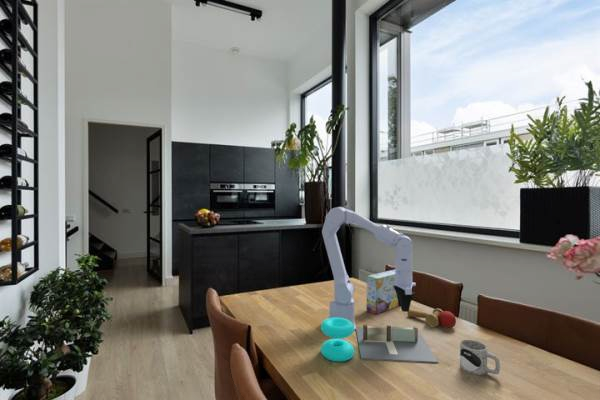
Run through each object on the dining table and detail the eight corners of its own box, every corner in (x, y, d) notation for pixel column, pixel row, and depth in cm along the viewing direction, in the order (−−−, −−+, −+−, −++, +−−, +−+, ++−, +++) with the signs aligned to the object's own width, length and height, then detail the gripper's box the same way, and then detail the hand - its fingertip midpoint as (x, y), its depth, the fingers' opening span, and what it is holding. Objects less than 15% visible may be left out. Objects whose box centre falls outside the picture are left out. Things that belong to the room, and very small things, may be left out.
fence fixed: (363, 341, 105) (363, 326, 105) (362, 339, 107) (363, 324, 106) (391, 343, 104) (391, 327, 104) (390, 341, 106) (390, 325, 106)
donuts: (357, 328, 92) (323, 329, 91) (357, 363, 92) (323, 364, 91) (350, 315, 102) (319, 316, 101) (350, 346, 102) (319, 347, 101)
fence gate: (392, 340, 104) (392, 327, 104) (391, 338, 106) (391, 325, 105) (418, 341, 103) (418, 328, 103) (417, 340, 105) (417, 326, 105)
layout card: (361, 359, 94) (361, 357, 94) (355, 328, 116) (355, 326, 116) (438, 363, 92) (438, 361, 92) (418, 330, 114) (418, 329, 114)
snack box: (376, 315, 128) (377, 278, 128) (365, 311, 133) (366, 275, 133) (406, 304, 142) (406, 270, 142) (395, 300, 146) (396, 268, 146)
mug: (455, 367, 90) (455, 343, 90) (466, 359, 94) (467, 337, 94) (494, 384, 82) (494, 358, 82) (504, 375, 86) (505, 350, 86)
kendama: (404, 323, 124) (451, 330, 111) (403, 306, 126) (450, 311, 113) (413, 321, 129) (460, 328, 116) (413, 305, 131) (458, 310, 118)
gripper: (421, 275, 104) (421, 317, 105) (410, 266, 119) (410, 302, 119) (399, 275, 105) (399, 316, 105) (391, 265, 119) (390, 301, 120)
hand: (403, 308), depth 112 cm, fingers open, 4 cm apart
